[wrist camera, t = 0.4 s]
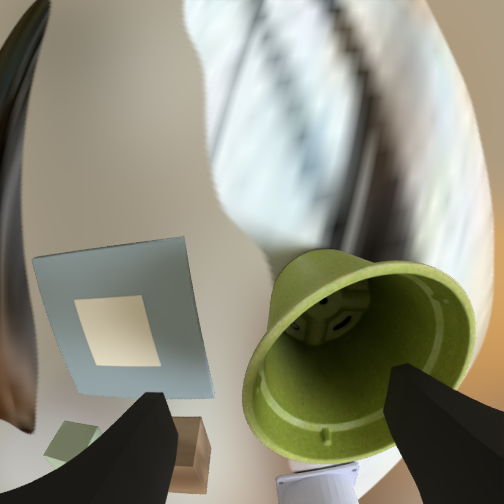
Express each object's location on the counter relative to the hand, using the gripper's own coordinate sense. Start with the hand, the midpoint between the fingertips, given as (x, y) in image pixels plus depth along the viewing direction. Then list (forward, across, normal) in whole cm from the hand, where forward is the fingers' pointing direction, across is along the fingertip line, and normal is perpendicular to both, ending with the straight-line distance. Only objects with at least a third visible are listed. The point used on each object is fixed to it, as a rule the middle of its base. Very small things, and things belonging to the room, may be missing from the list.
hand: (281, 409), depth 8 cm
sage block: (+10, +17, +14) cm, 24 cm away
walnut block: (+10, +8, +12) cm, 17 cm away
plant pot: (+10, -3, 0) cm, 10 cm away
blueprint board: (+9, +10, +2) cm, 14 cm away
